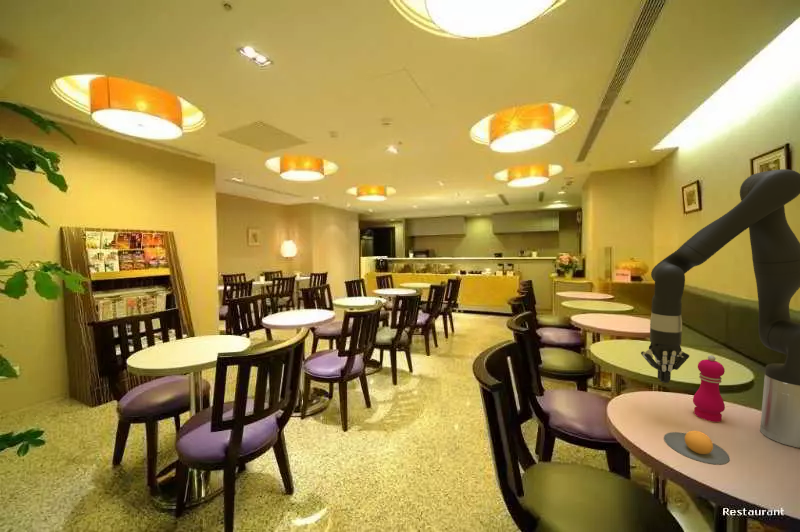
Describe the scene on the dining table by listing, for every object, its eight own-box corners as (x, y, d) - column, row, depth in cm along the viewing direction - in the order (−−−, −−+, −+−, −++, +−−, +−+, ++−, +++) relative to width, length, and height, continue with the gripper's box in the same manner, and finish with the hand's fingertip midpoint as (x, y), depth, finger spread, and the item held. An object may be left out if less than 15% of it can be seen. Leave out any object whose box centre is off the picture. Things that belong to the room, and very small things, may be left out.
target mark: (700, 433, 91) (700, 433, 91) (745, 465, 79) (745, 465, 78) (652, 431, 93) (652, 431, 93) (688, 463, 80) (688, 462, 80)
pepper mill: (730, 424, 96) (735, 360, 94) (702, 422, 97) (706, 359, 95) (712, 411, 103) (716, 352, 101) (686, 409, 104) (690, 350, 102)
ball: (698, 441, 87) (702, 425, 85) (716, 458, 82) (721, 442, 80) (677, 442, 87) (681, 426, 85) (694, 459, 82) (699, 443, 80)
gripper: (650, 331, 94) (649, 387, 96) (699, 331, 93) (696, 387, 94) (634, 324, 102) (633, 376, 103) (679, 324, 100) (677, 376, 102)
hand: (663, 381), depth 99 cm, fingers closed
